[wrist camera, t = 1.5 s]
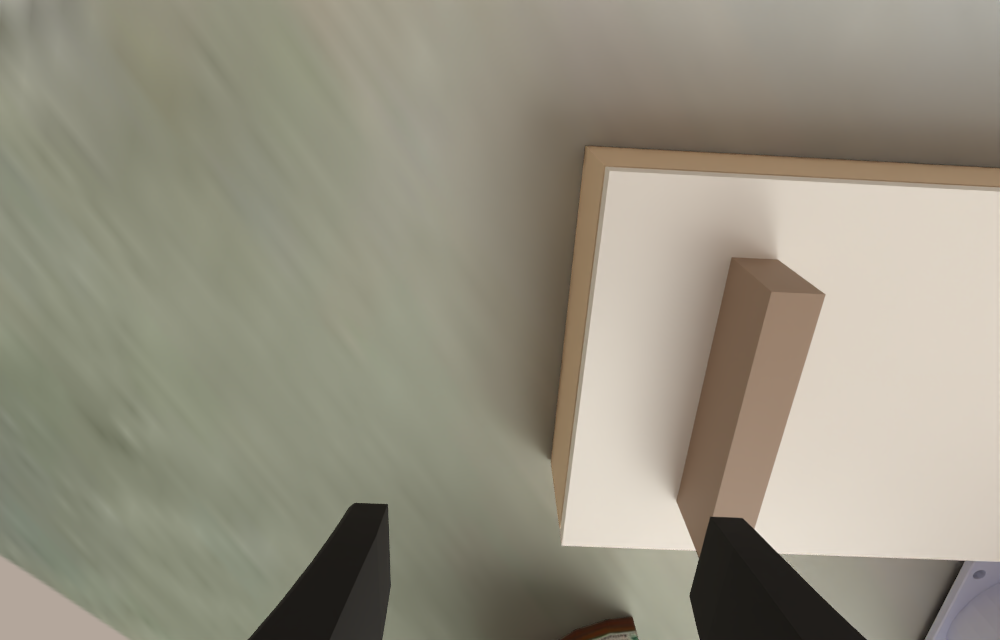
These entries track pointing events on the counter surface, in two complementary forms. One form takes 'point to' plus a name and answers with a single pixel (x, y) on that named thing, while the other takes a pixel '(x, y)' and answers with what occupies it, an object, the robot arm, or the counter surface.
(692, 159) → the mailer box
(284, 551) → the counter surface
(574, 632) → the food container
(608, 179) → the box lid
